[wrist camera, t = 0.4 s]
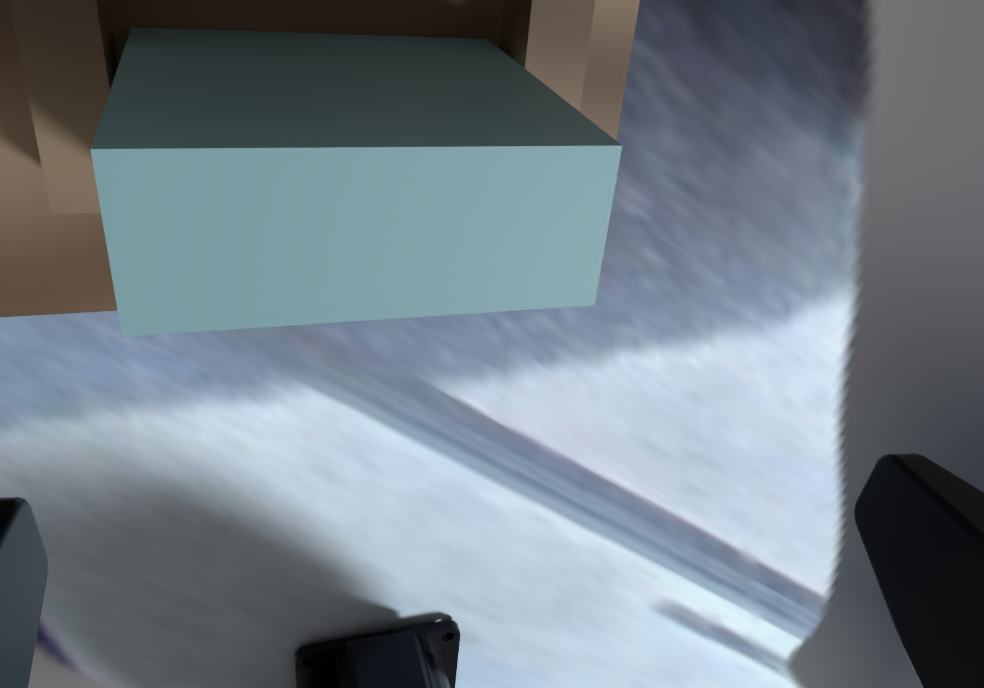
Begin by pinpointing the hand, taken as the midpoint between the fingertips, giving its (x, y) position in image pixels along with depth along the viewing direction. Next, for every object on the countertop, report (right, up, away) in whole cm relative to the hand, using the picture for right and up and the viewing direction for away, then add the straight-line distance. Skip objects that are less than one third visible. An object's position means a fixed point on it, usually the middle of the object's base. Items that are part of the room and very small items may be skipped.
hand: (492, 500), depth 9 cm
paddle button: (-4, +8, +11) cm, 14 cm away
